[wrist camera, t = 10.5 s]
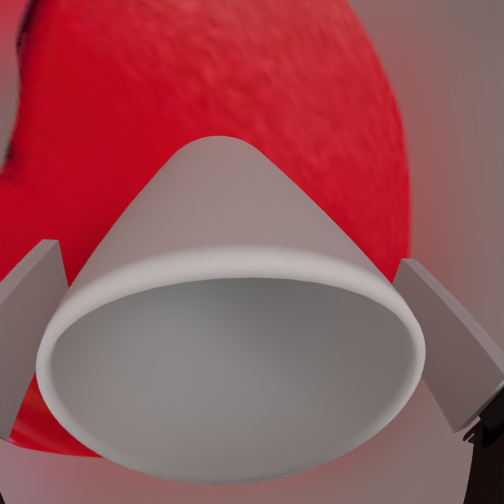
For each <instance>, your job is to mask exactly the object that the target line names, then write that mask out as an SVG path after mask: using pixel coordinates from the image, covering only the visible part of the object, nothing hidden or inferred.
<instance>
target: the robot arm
mask: <svg viewBox="0 0 504 504" xmlns="http://www.w3.org/2000/svg"><path fill="white" fill-rule="evenodd" d="M392 286H393V287H394V288H395V289H396V290H397V292H398V293H399V294H400V295H401V296H402V298H403V299H404V300H405V302H406V303H407V305H408V307H409V308H410V310H411V312H412V313H413V315H414V317H415V318H416V320H417V322H418V323H419V325H420V327H421V330H422V333H423V336H424V341H425V362H424V368H423V371H422V374H421V376H422V378H423V379H424V381H425V383H426V384H427V386H428V388H429V389H430V391H431V393H432V395H433V396H434V398H435V400H436V401H437V403H438V405H439V407H440V409H441V410H442V412H443V414H444V416H445V418H446V419H447V421H448V423H449V425H450V427H451V429H452V430H453V432H454V433H456V432H458V431H460V430H462V429H463V428H465V427H467V426H468V425H469V424H470V423H471V422H472V421H473V420H474V419H475V418H476V417H477V416H478V415H479V417H480V419H481V420H480V421H479V422H478V423H477V424H476V425H474V426H473V427H472V429H470V430H469V431H468V432H467V433H466V434H465V435H464V438H463V441H465V440H467V439H468V438H469V437H470V436H471V435H472V434H473V433H474V435H473V436H472V437H471V438H470V439H469V441H468V442H469V443H473V444H474V448H473V455H472V463H471V469H470V475H469V480H468V485H467V490H466V495H465V499H464V503H463V504H504V354H503V353H502V351H501V350H500V349H499V348H498V346H497V345H496V344H495V343H494V342H493V340H492V339H491V338H490V337H489V336H488V334H487V333H486V332H485V331H484V330H483V329H482V328H481V326H480V325H479V324H478V323H477V322H476V321H475V320H474V318H473V317H472V316H471V315H470V314H469V313H468V312H467V311H466V310H465V309H464V308H463V307H462V305H461V304H460V303H459V302H458V301H457V300H456V299H455V298H454V297H453V296H452V295H451V294H450V293H449V292H448V291H447V290H446V289H445V288H444V287H443V286H442V285H441V284H440V283H439V282H438V281H437V280H436V279H435V278H434V277H433V276H432V275H431V274H430V273H429V272H428V271H427V270H426V269H425V268H424V267H423V266H422V265H421V264H420V263H419V262H418V261H417V260H415V259H402V260H401V262H400V265H399V268H398V271H397V273H396V276H395V279H394V281H393V284H392ZM68 290H69V287H68V283H67V279H66V275H65V271H64V266H63V261H62V256H61V251H60V246H59V240H44V239H43V240H42V241H41V242H40V243H39V244H37V245H36V246H35V247H34V248H33V249H32V250H31V251H30V252H29V253H28V254H27V255H26V256H25V257H24V258H23V259H22V260H21V261H20V262H19V263H18V264H17V265H16V266H15V268H14V269H13V270H12V271H11V272H10V273H9V274H8V275H7V276H6V277H5V278H4V279H3V280H2V282H1V283H0V438H1V439H3V440H5V441H7V442H8V439H9V436H10V433H11V430H12V427H13V424H14V422H15V419H16V416H17V414H18V411H19V409H20V406H21V403H22V401H23V399H24V396H25V394H26V391H27V389H28V387H29V385H30V382H31V380H32V378H33V376H34V374H35V371H36V360H37V353H38V350H39V347H40V344H41V341H42V338H43V336H44V333H45V330H46V328H47V325H48V323H49V321H50V320H51V318H52V316H53V314H54V313H55V311H56V309H57V308H58V306H59V304H60V303H61V301H62V299H63V298H64V296H65V294H66V293H67V291H68ZM0 504H5V502H4V500H3V498H2V495H1V493H0Z"/></svg>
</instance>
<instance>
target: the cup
mask: <svg viewBox="0 0 504 504" xmlns="http://www.w3.org/2000/svg"><path fill="white" fill-rule="evenodd" d="M424 362H425V341H424V336H423V333H422V330H421V327H420V325H419V323H418V322H417V320H416V318H415V317H414V315H413V313H412V312H411V310H410V308H409V307H408V305H407V303H406V302H405V300H404V299H403V298H402V296H401V295H400V294H399V293H398V292H397V290H396V289H395V288H394V287H393V286H392V285H391V283H390V282H389V281H388V280H387V279H386V278H385V277H384V275H383V274H382V273H381V272H380V271H379V270H378V269H377V267H376V266H375V265H374V264H373V263H372V262H371V261H370V260H369V259H368V257H367V256H366V255H365V254H364V253H363V252H362V251H361V250H360V249H359V248H358V247H357V245H356V244H355V243H354V242H353V241H352V240H351V239H350V238H349V237H348V236H347V235H346V234H345V233H344V232H343V231H342V230H341V229H340V228H339V227H338V226H337V224H336V223H335V222H334V221H333V220H332V219H331V218H330V217H329V216H328V215H327V214H326V213H325V212H324V211H323V210H322V209H321V208H320V207H319V206H318V205H317V204H316V203H315V202H314V201H313V200H311V199H310V198H309V197H308V196H307V195H306V194H305V193H304V192H303V191H302V190H301V189H300V188H299V187H298V186H297V185H296V184H295V183H294V182H293V181H292V180H291V179H289V178H288V177H287V176H286V175H285V174H284V173H283V172H282V171H281V170H280V169H279V168H278V167H276V166H275V165H274V164H273V163H272V162H271V161H270V160H269V159H268V158H267V157H265V156H264V155H263V154H262V153H261V152H260V151H259V150H257V149H256V148H255V147H253V146H252V145H250V144H248V143H246V142H244V141H242V140H239V139H236V138H232V137H226V136H211V137H205V138H201V139H198V140H195V141H193V142H191V143H189V144H187V145H185V146H184V147H182V148H181V149H179V150H178V151H177V152H176V153H175V154H174V155H173V156H172V157H171V158H170V159H169V160H168V161H167V162H166V164H165V165H164V166H163V167H162V168H161V169H160V170H159V171H158V172H157V173H156V175H155V176H154V177H153V178H152V179H151V180H150V181H149V183H148V184H147V185H146V186H145V187H144V188H143V190H142V191H141V192H140V193H139V194H138V195H137V197H136V198H135V199H134V200H133V201H132V203H131V204H130V205H129V206H128V208H127V209H126V210H125V211H124V213H123V214H122V215H121V216H120V218H119V219H118V220H117V221H116V223H115V224H114V225H113V227H112V228H111V229H110V230H109V232H108V233H107V234H106V236H105V237H104V238H103V240H102V241H101V243H100V244H99V245H98V247H97V248H96V249H95V251H94V252H93V254H92V255H91V257H90V258H89V259H88V261H87V262H86V264H85V265H84V267H83V268H82V270H81V271H80V273H79V274H78V276H77V277H76V279H75V280H74V282H73V283H72V285H71V287H70V288H69V290H68V291H67V293H66V294H65V296H64V298H63V299H62V301H61V303H60V304H59V306H58V308H57V309H56V311H55V313H54V314H53V316H52V318H51V320H50V321H49V323H48V325H47V328H46V330H45V333H44V336H43V338H42V341H41V344H40V347H39V350H38V353H37V360H36V377H37V382H38V386H39V389H40V392H41V394H42V397H43V399H44V401H45V403H46V405H47V407H48V408H49V410H50V411H51V413H52V414H53V415H54V417H55V418H56V419H57V421H58V422H59V423H60V424H61V425H62V426H63V427H64V428H65V429H66V430H67V431H68V432H69V433H70V434H71V435H72V436H73V437H75V438H76V439H77V440H78V441H79V442H81V443H82V444H84V445H85V446H86V447H88V448H89V449H91V450H92V451H94V452H96V453H97V454H99V455H101V456H103V457H104V458H106V459H108V460H110V461H112V462H114V463H117V464H119V465H122V466H124V467H126V468H129V469H131V470H134V471H137V472H140V473H143V474H147V475H150V476H154V477H158V478H162V479H167V480H172V481H178V482H186V483H195V484H213V485H215V484H216V485H223V484H224V485H226V484H244V483H253V482H261V481H267V480H272V479H277V478H282V477H286V476H289V475H294V474H297V473H300V472H303V471H307V470H309V469H312V468H315V467H318V466H320V465H322V464H325V463H327V462H330V461H332V460H334V459H336V458H338V457H340V456H342V455H344V454H346V453H348V452H349V451H351V450H353V449H355V448H356V447H358V446H359V445H361V444H363V443H364V442H365V441H367V440H368V439H370V438H371V437H373V436H374V435H375V434H376V433H378V432H379V431H380V430H381V429H382V428H384V427H385V426H386V425H387V424H388V423H389V422H390V421H391V420H392V419H393V418H394V417H395V416H396V415H397V414H398V413H399V412H400V410H401V409H402V408H403V407H404V405H405V404H406V402H407V401H408V400H409V398H410V397H411V395H412V394H413V392H414V390H415V389H416V386H417V384H418V382H419V380H420V377H421V374H422V371H423V368H424Z"/></svg>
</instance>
